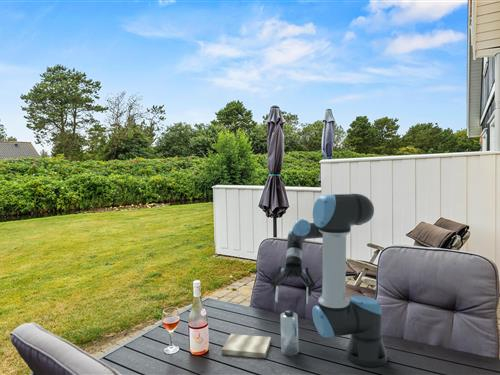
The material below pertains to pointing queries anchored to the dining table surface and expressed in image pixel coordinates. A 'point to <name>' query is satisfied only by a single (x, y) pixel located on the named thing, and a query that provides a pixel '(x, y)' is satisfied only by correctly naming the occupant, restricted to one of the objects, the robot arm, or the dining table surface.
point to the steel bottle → (289, 333)
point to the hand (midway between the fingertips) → (291, 301)
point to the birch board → (247, 346)
